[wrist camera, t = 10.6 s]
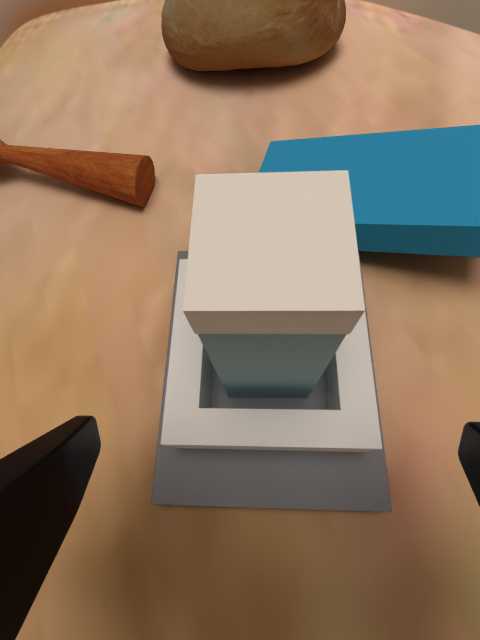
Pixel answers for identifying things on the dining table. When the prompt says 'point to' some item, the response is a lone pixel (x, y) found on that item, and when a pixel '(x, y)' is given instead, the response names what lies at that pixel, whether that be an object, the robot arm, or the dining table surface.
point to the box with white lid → (272, 277)
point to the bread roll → (250, 32)
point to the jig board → (269, 432)
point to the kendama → (89, 170)
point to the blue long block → (401, 185)
